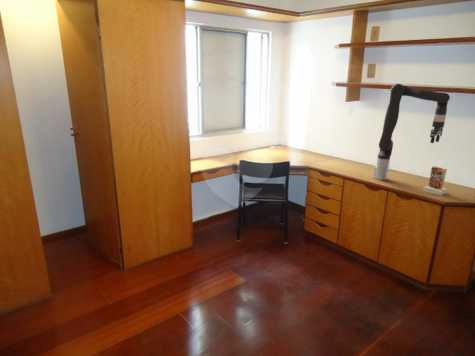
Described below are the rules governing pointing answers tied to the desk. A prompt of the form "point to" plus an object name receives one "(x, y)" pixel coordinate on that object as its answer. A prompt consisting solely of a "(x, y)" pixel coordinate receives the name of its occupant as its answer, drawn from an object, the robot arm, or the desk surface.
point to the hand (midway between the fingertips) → (434, 142)
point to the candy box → (437, 177)
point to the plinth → (434, 190)
